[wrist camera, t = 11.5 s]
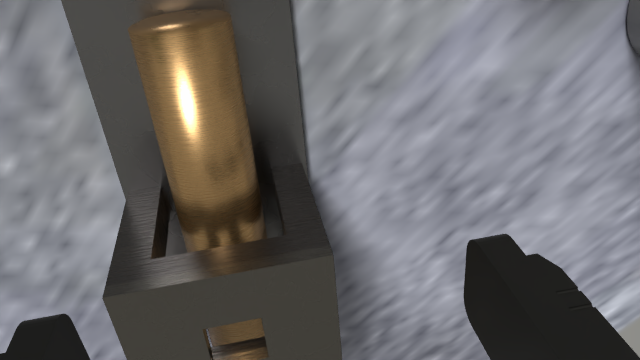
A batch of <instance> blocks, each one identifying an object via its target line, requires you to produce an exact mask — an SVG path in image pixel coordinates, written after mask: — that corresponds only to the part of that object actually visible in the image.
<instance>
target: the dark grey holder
mask: <svg viewBox="0 0 640 360" xmlns="http://www.w3.org/2000/svg"><path fill="white" fill-rule="evenodd" d="M61 1H62V4H63V7H64V11H65V14H66V17H67V20H68V23H69V26H70V29H71V32H72V35H73V38H74V41H75V44H76V47H77V51H78V54H79V57H80V60H81V63H82V66H83V69H84V72H85V75H86V78H87V81H88V84H89V88H90V91H91V94H92V97H93V100H94V103H95V106H96V109H97V112H98V115H99V118H100V121H101V125H102V128H103V131H104V134H105V137H106V140H107V143H108V146H109V149H110V152H111V155H112V158H113V161H114V165H115V168H116V171H117V174H118V177H119V180H120V183H121V186H122V189H123V192H124V195H125V198H126V203H125V207H124V211H123V215H122V219H121V224H120V228H119V232H118V236H117V240H116V244H115V248H114V252H113V257H112V261H111V265H110V269H109V273H108V277H107V281H106V286H105V290H104V294H103V301H104V303H105V306H106V308H107V311H108V313H109V316H110V318H111V321H112V323H113V326H114V328H115V331H116V333H117V336H118V338H119V341H120V343H121V346H122V348H123V351H124V353H125V356H126V358H127V360H342V353H341V341H340V329H339V317H338V305H337V293H336V282H335V270H334V258H333V253H332V250H331V247H330V244H329V241H328V238H327V235H326V232H325V229H324V226H323V224H322V221H321V218H320V215H319V212H318V209H317V206H316V203H315V200H314V197H313V194H312V191H311V188H310V185H309V182H308V173H307V163H306V154H305V145H304V135H303V126H302V116H301V107H300V97H299V88H298V79H297V69H296V60H295V50H294V41H293V31H292V22H291V13H290V3H289V0H61ZM198 9H213V10H221V11H226V12H228V13H229V14H230V15H231V20H232V26H233V32H234V38H235V44H236V50H237V56H238V62H239V69H240V75H241V81H242V87H243V93H244V99H245V105H246V111H247V117H248V123H249V129H250V135H251V141H252V148H253V154H254V160H255V166H256V172H257V178H258V184H259V190H260V196H261V202H262V208H263V214H264V220H265V227H266V233H267V239H261V240H256V241H250V242H245V243H239V244H233V245H228V246H222V247H217V248H211V249H206V250H200V251H194V252H189V253H187V249H186V245H185V242H184V238H183V234H182V230H181V227H180V223H179V219H178V215H177V212H176V208H175V204H174V200H173V197H172V193H171V189H170V185H169V182H168V178H167V174H166V171H165V167H164V163H163V159H162V156H161V152H160V148H159V144H158V141H157V137H156V133H155V129H154V126H153V122H152V118H151V115H150V111H149V107H148V103H147V100H146V96H145V92H144V88H143V85H142V81H141V77H140V73H139V70H138V66H137V62H136V59H135V55H134V51H133V47H132V44H131V40H130V36H129V32H128V28H129V27H130V26H131V25H132V24H134V23H136V22H138V21H140V20H143V19H146V18H149V17H153V16H156V15H161V14H166V13H171V12H177V11H185V10H198ZM258 318H261V319H262V324H263V329H264V335H265V337H260V338H255V339H250V340H245V341H240V342H235V343H230V344H225V345H220V346H215V347H210V344H209V340H208V336H207V333H206V329H207V328H213V327H218V326H223V325H228V324H233V323H238V322H243V321H248V320H253V319H258Z"/></svg>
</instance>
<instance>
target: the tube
mask: <svg viewBox="0 0 640 360" xmlns="http://www.w3.org/2000/svg"><path fill="white" fill-rule="evenodd" d="M128 32H129V36H130V40H131V44H132V47H133V51H134V55H135V59H136V62H137V66H138V70H139V73H140V77H141V81H142V85H143V88H144V92H145V96H146V100H147V103H148V107H149V111H150V115H151V118H152V122H153V126H154V129H155V133H156V137H157V141H158V144H159V148H160V152H161V156H162V159H163V163H164V167H165V171H166V174H167V178H168V182H169V185H170V189H171V193H172V197H173V200H174V204H175V208H176V212H177V215H178V219H179V223H180V227H181V230H182V234H183V238H184V242H185V245H186V249H187V253H189V252H194V251H200V250H206V249H211V248H217V247H222V246H228V245H233V244H239V243H245V242H250V241H256V240H261V239H267V233H266V227H265V220H264V214H263V208H262V202H261V196H260V190H259V184H258V178H257V172H256V166H255V160H254V154H253V148H252V141H251V135H250V129H249V123H248V117H247V111H246V105H245V99H244V93H243V87H242V81H241V75H240V69H239V62H238V56H237V50H236V44H235V38H234V32H233V26H232V20H231V15H230V14H229V13H228V12H226V11H221V10H213V9H198V10H185V11H177V12H171V13H166V14H161V15H156V16H153V17H149V18H146V19H143V20H140V21H138V22H136V23H134V24H132V25H131V26H130V27H129V28H128ZM208 331H209V335H210V339H211V342H212V346H213V347H215V346H220V345H225V344H230V343H235V342H240V341H245V340H250V339H255V338H260V337H265V335H264V329H263V324H262V319H261V318H258V319H253V320H248V321H243V322H238V323H233V324H228V325H223V326H218V327H213V328H208Z"/></svg>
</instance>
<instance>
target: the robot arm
mask: <svg viewBox="0 0 640 360" xmlns="http://www.w3.org/2000/svg"><path fill="white" fill-rule="evenodd" d="M627 29H628V36H629V39H630V42H631V45H632V46H633V48H634V49H635V51H636V52H637V54H638V55H639V56H640V0H630V2H629V7H628V14H627ZM464 304H465V309H466V313H467V316H468V319H469V321H470V323H471V325H472V327H473V329H474V331H475V333H476V334H477V336H478V338H479V340H480V341H481V343H482V345H483V347H484V349H485V350H486V352H487V354H488V356H489V357H490V359H491V360H640V358H639V357H638V356H637V354H636V353H635V352H634V351H633V350H632V349H631V348H630V346H629V345H628V344H627V343H626V342H625V341H624V339H623V338H622V337H621V336H620V335H619V334H618V333H617V331H616V330H615V329H614V328H613V327H612V326H611V325H610V323H609V322H608V321H607V320H606V319H605V318H604V317H603V315H602V314H601V313H600V312H599V311H598V310H597V309H596V307H592V303H591V302H590V301H589V299H588V298H587V297H586V296H585V295H584V294H583V293H582V292H581V291H578V287H577V286H576V285H575V284H574V282H573V281H572V280H571V279H570V278H569V277H568V276H567V274H566V273H565V272H564V271H563V270H562V269H561V268H560V267H558V266H557V265H555V264H553V263H552V262H550V261H548V260H547V259H545V258H543V257H542V256H540V255H539V254H532V255H527V256H526V255H525V254H524V252H523V251H522V250H521V249H520V248H519V246H518V245H517V244H516V243H515V241H514V240H513V239H512V238H511V237H510V236H509V235H507V234H501V235H495V236H490V237H485V238H479V239H474V240H470V241H469V242H468V245H467V253H466V268H465V283H464ZM0 360H90V358H89V356H88V354H87V352H86V350H85V347H84V345H83V343H82V341H81V339H80V337H79V335H78V333H77V331H76V328H75V326H74V324H73V322H72V320H71V319H70V317H69V316H68V315H66V314H60V315H54V316H49V317H43V318H38V319H32V320H27V321H23V322H21V323H20V324H19V325H18V327H17V329H16V331H15V333H14V335H13V338H12V340H11V342H10V344H9V347H8V349H7V351H6V353H2V354H0Z"/></svg>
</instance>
